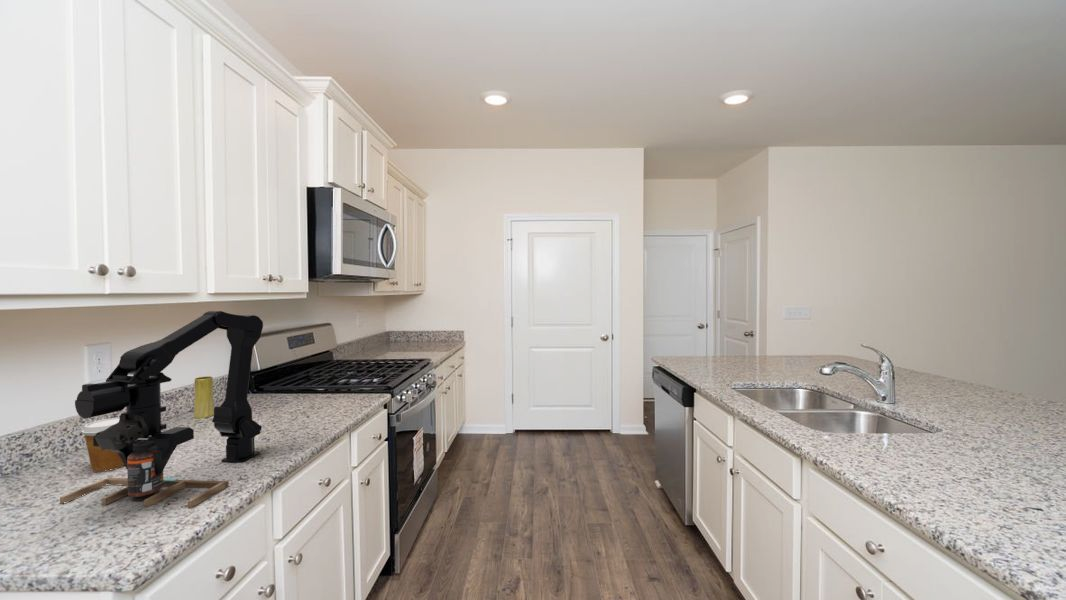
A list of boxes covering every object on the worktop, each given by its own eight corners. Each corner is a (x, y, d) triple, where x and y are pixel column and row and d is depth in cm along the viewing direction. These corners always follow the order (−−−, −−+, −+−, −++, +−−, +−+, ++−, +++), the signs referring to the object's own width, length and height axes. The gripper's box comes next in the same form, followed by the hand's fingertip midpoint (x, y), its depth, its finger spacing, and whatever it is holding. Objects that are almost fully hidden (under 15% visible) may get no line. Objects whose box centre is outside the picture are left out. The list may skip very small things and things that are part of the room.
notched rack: (109, 482, 101) (109, 476, 101) (228, 486, 99) (228, 479, 99) (60, 504, 91) (59, 497, 91) (191, 508, 89) (191, 501, 89)
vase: (189, 417, 153) (188, 378, 153) (206, 412, 159) (206, 375, 159) (201, 418, 152) (200, 379, 151) (218, 414, 158) (218, 376, 157)
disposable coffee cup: (136, 466, 110) (135, 421, 110) (83, 478, 103) (82, 430, 103) (132, 457, 116) (131, 414, 116) (82, 468, 109) (81, 422, 109)
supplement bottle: (156, 495, 93) (155, 444, 92) (121, 500, 90) (120, 448, 90) (168, 483, 98) (167, 436, 98) (136, 488, 96) (134, 439, 96)
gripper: (62, 415, 86) (65, 490, 87) (147, 416, 85) (149, 492, 86) (119, 401, 97) (121, 467, 98) (195, 402, 96) (196, 469, 97)
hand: (145, 474), depth 94 cm, fingers closed on supplement bottle, 6 cm apart
